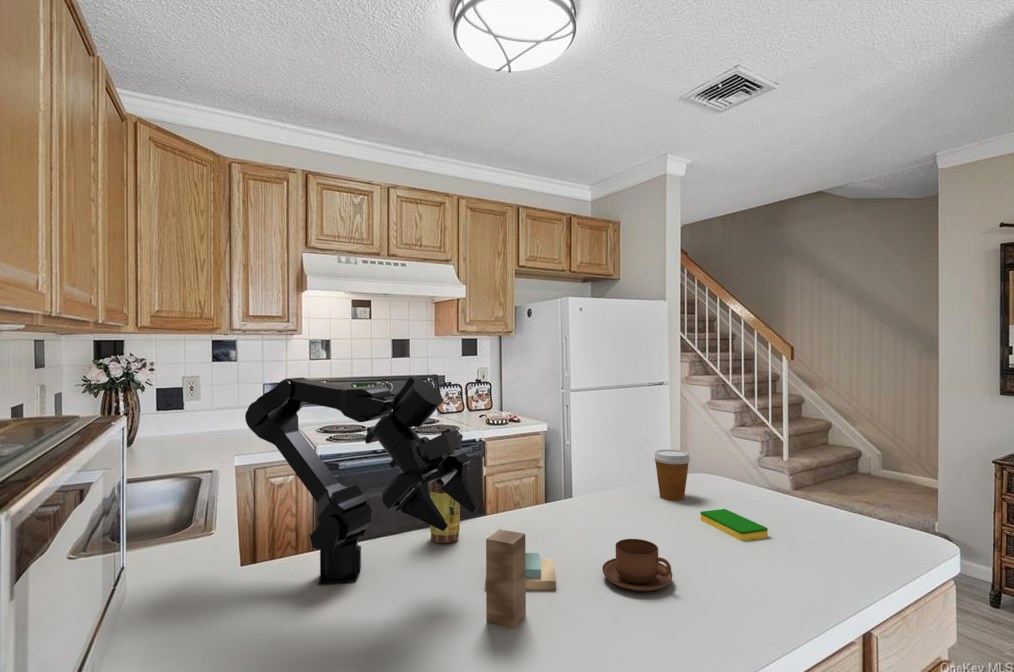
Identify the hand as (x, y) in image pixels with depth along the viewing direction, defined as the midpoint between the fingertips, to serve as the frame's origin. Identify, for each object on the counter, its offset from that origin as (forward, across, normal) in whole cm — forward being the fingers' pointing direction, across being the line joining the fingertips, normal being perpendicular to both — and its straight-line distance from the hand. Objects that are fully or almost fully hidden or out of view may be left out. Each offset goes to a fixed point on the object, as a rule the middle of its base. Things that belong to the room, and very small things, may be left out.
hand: (460, 519), depth 85 cm
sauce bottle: (-3, +23, +22) cm, 32 cm away
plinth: (+13, +13, +7) cm, 20 cm away
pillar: (+16, 0, +4) cm, 16 cm away
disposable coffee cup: (+25, +74, -5) cm, 79 cm away
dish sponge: (+37, +56, -16) cm, 69 cm away
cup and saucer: (+27, +21, -6) cm, 35 cm away
